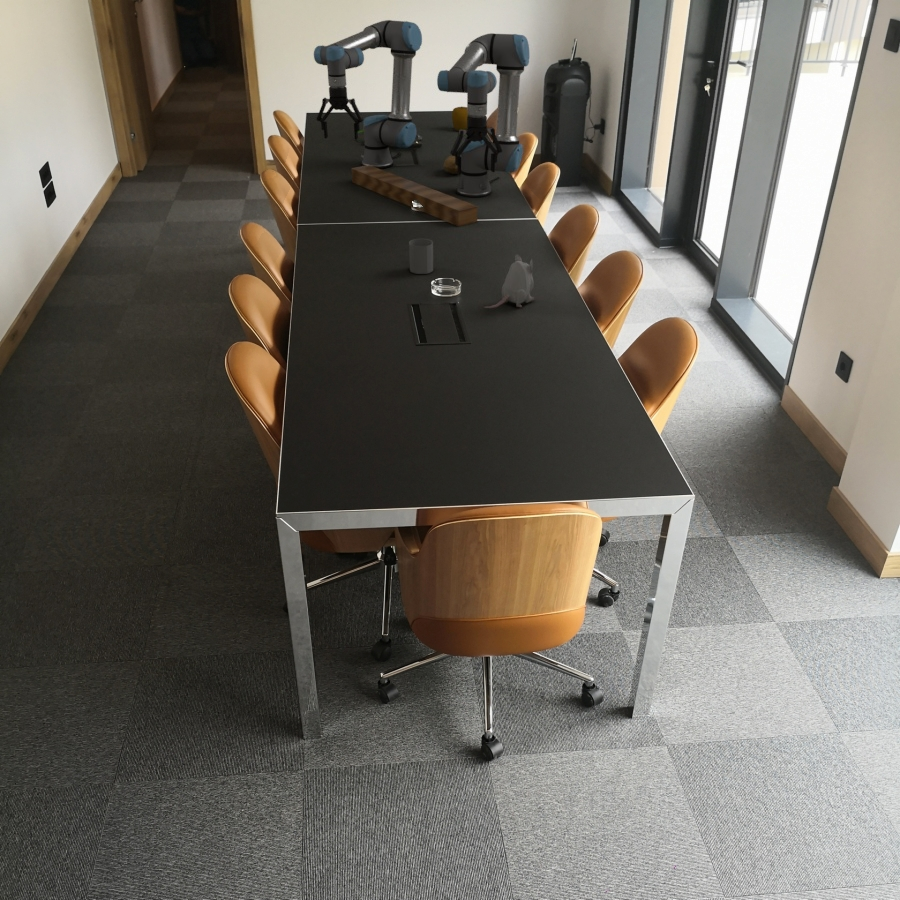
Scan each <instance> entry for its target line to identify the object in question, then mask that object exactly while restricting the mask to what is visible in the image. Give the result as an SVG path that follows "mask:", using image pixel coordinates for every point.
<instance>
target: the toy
mask: <svg viewBox="0 0 900 900" xmlns="http://www.w3.org/2000/svg"><path fill="white" fill-rule="evenodd" d="M533 262H534V261H533V259H531V260H530V262H529V263H527V262H523V259H522V257H521V256H520V255H519V254H518V253H515V256H514V262H513V263H511V265H510V266H509V268H508V271H507V273H506V276H505V279H504V282H503V284H502V285H501V286H502V287H501V296H502V297H501V300H500V301H498V302H497V303H496V304H494V305H490V306H483V308H485V309H496V308H498V307H500V306H501V305H503V304H504V303H508V302H511V303H513V304H515V305H516V306H515V307H517V308H523V305H521V304H522V303H525V304H527V303H530V302H534V301H535V297H534V296H531V294H532V292H533V290H534V287H535V283H534V282H535V281H534V278H533V272H534V263H533Z"/></svg>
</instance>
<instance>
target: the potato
mask: <svg viewBox="0 0 900 900" xmlns="http://www.w3.org/2000/svg"><path fill="white" fill-rule="evenodd" d="M443 169H444V171H445V172H446V173H448V174H450V175H459V174H458V173H457V166H456V164H455V156H452V155H451V154H450V155H449V156H448V157H447V158H446V159H445V160H444V163H443Z"/></svg>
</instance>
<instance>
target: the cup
mask: <svg viewBox="0 0 900 900" xmlns="http://www.w3.org/2000/svg"><path fill="white" fill-rule="evenodd" d="M408 253H409V272H411V273H412V274H416V275H426V274H430V273H432V272H434V241H433V240H431V239H428V238H422V237H421V238H420V237H419V238H414V239H411V240H410V241H409V242H408Z"/></svg>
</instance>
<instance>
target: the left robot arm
mask: <svg viewBox="0 0 900 900" xmlns="http://www.w3.org/2000/svg"><path fill="white" fill-rule="evenodd" d="M422 44H423V35H422V32H421V28H420V27H419V25H418V24H417V23H415V22H412V21H407V20H406V21H405V20H404V21H403V20H391V19H385V20H381V21H378V22H376V23H372V24H370V25H368V26H366V27H364V28H363V30H362V31H359V32H358V33H357V32H356V33H355V34H352V35H350V36H348V37H345V38H343V39H341V40H338V41H336V42H333V43H331V44H328V45H323V44H322V45H318V46H317V45H316V47H315V48H314V50H313V60H314V62H315V63H316V64H318V65H322V66H326V68H327V82H328V86H329V87H328V95H329V98H326V97H323V98H322V99H321V100H322V101H321V107H320V109H319V112H318V114H317V117H316V121H317V122H320V126H321V130H322V131H323V135H324V136H323V137H324V139H327V138H328V136H329V133H328V121H326V120H327V118H328V117H329V115H330V114H331V113H332V111H333V110H335V111H338V110H339V111H345V113H347V114H348V116H349V117H350V118H351V119H352V120H353V122H354V123H353V133H354V134H353V135H354V140H358V139H359V133H358V131H361V130H360V128H361V127H360V123H362V122H363V130H364V131H363V138H364V139H363V140H364V143H365V144H364V151H363V154H360V158H362V159H361V166H366V165H370V166H373V167H376V168H378V169H381V170H383V169H387V168H390V167H392V166H394V160H393V159H396V158H398V157H400V156H401V151H398V154H397V155H394V156H392V155H391V152H390V151H391V150H390V147H396V148H400V149H401V148H402V149H407V148H409V147H411V146H412V145H413V144H414V142H415V140H416V138H417V133H418V132H417V131H418V129H417V126H416V124H415V123H414V122H413V117H412V116H411V115H410V109H411V107H410V105H411V89H412V72H413V71H412V69H413V59H414V58H415V57H416V55H417V51H419V50H420V49H421V47H422ZM378 48H384V49H385V48H386V49H390V55H391V56H392V57H393V64H392V65H393V66H392V83H391V85H392V86H391V87H392V88H391V108H390V114H388V115H387V114H374V115H370V116H366V117H365V118H363V116H362V113H361V112H360V109H359V108H358V106H357V104H356V99H355V98H348V89H347V88H348V87H347V75H346V72H347V71H346V70H349V69H354V68H355V69H356V68H359V67H361V66H362V65H363V64H364V63H365V62H364V61H365V55H364V51H366V50H369V49H370V50H374V49H378ZM328 103H329V105H330V106H329V108H328V109H327V111H326V113H325V114H324V111H325V109H326V106H327V104H328ZM348 104H349V105H351V108H352V109H353V110H352V109H350V106H349V105H348ZM323 114H324V115H323Z"/></svg>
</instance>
